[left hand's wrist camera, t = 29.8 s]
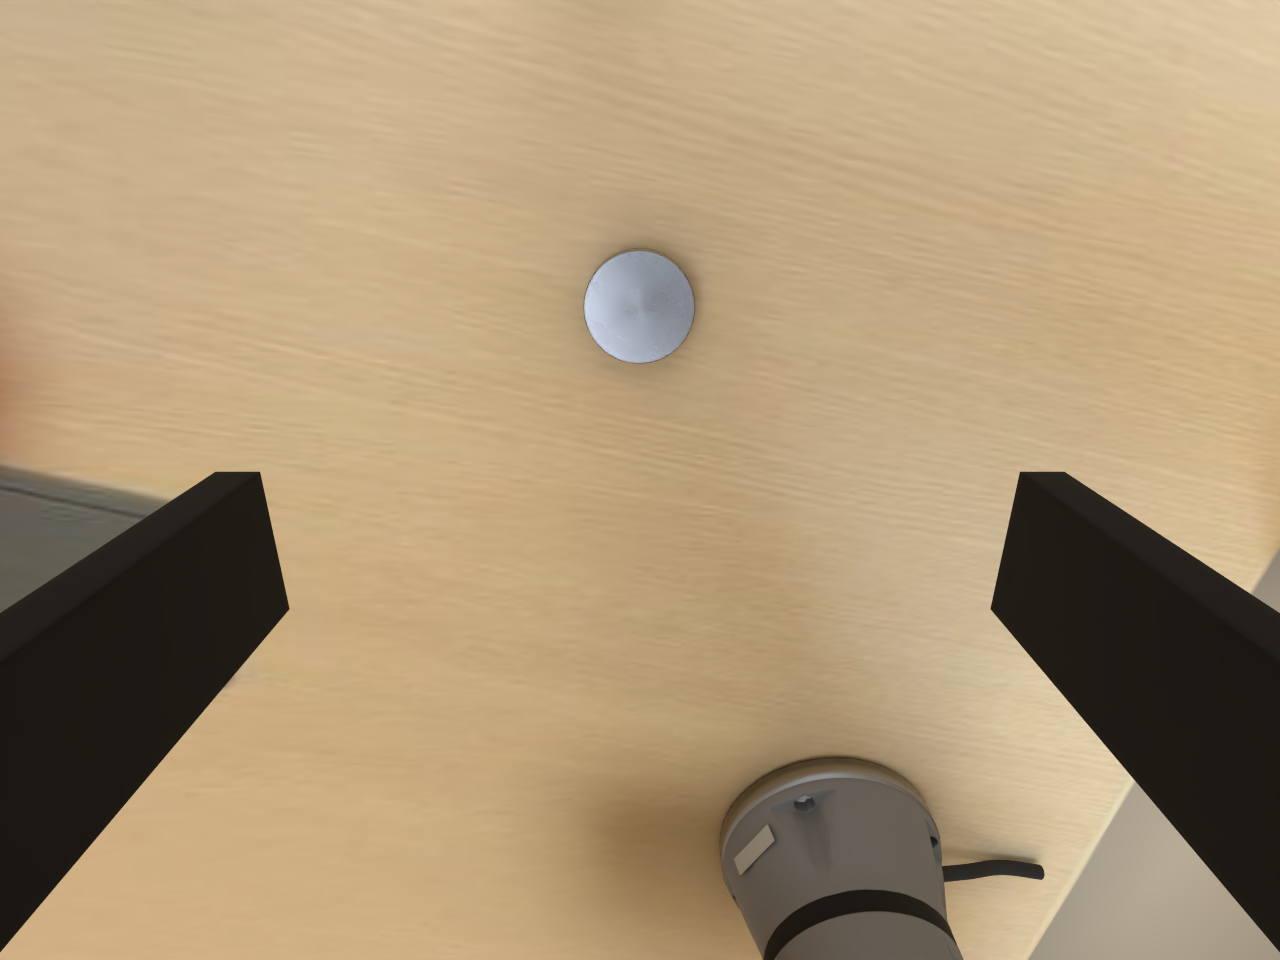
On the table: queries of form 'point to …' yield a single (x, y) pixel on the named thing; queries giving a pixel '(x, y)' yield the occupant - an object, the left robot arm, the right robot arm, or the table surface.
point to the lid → (639, 306)
